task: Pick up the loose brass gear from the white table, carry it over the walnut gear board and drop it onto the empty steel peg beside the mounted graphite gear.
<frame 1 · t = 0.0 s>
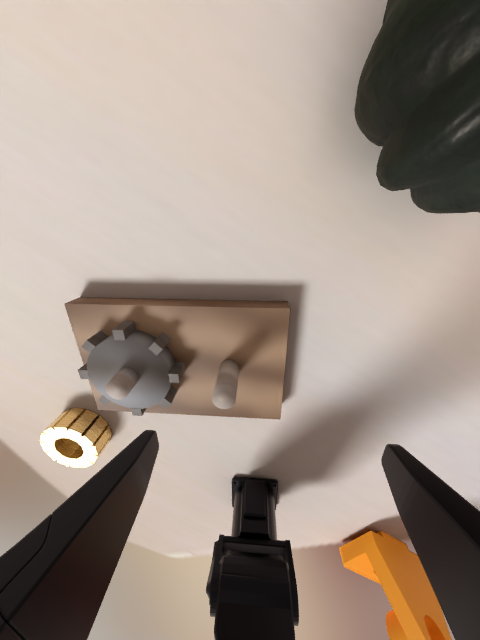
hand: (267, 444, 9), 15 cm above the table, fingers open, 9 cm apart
bracket: (375, 544, 37), on the table
brass gear: (85, 428, 31), on the table
gear board: (186, 355, 25), on the table
squash: (440, 105, 16), on the table
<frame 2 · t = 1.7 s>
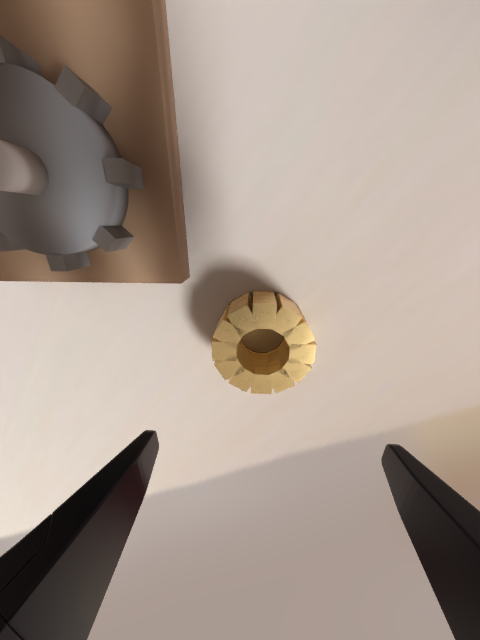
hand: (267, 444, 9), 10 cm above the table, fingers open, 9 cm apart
brass gear: (261, 333, 18), on the table
gear board: (63, 96, 13), on the table
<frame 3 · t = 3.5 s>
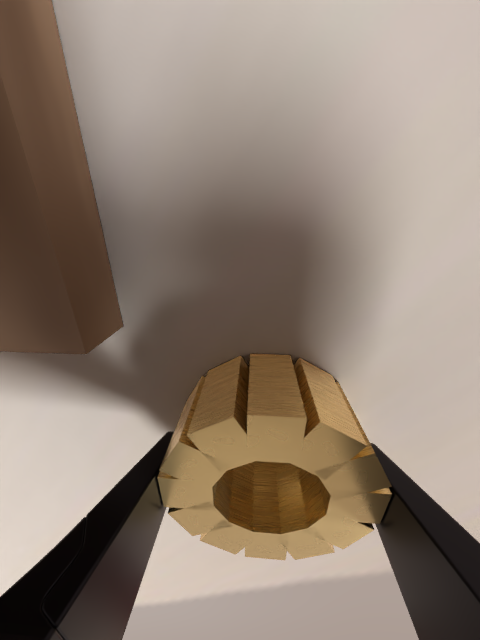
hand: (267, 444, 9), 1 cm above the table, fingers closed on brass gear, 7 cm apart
brass gear: (266, 423, 10), on the table, touching gripper
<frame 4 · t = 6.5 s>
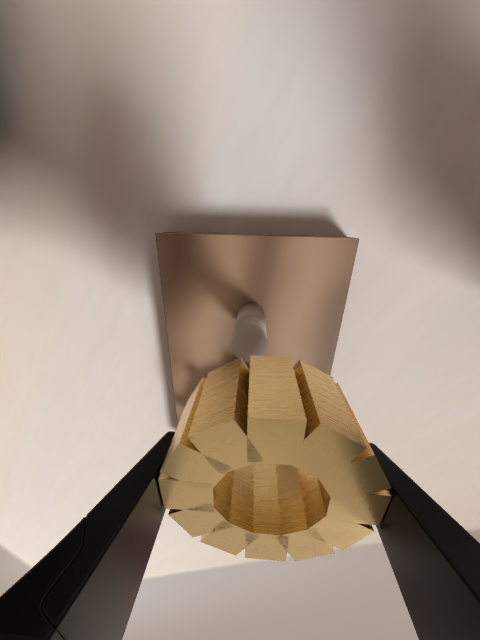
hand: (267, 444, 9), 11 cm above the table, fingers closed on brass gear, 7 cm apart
brass gear: (266, 424, 10), point 10 cm above the table, touching gripper
gear board: (249, 359, 20), on the table
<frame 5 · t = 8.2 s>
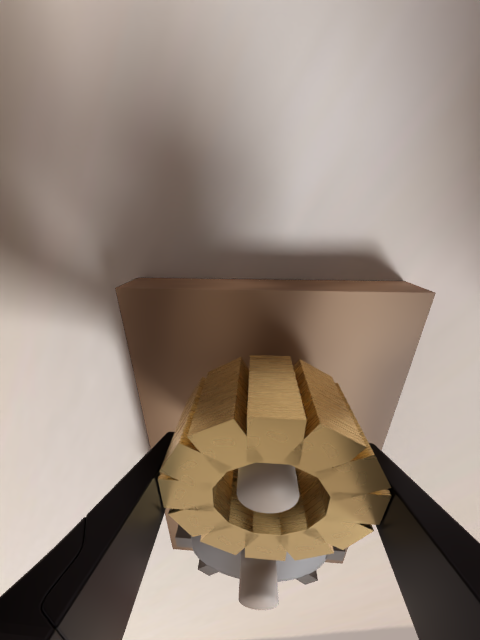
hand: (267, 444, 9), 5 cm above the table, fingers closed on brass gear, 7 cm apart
brass gear: (265, 424, 10), point 4 cm above the table, touching gripper
gear board: (259, 434, 15), on the table
when the fingers open (4 cm above the table, at t = 9.5 s): brass gear drops 1 cm, resting on gear board.
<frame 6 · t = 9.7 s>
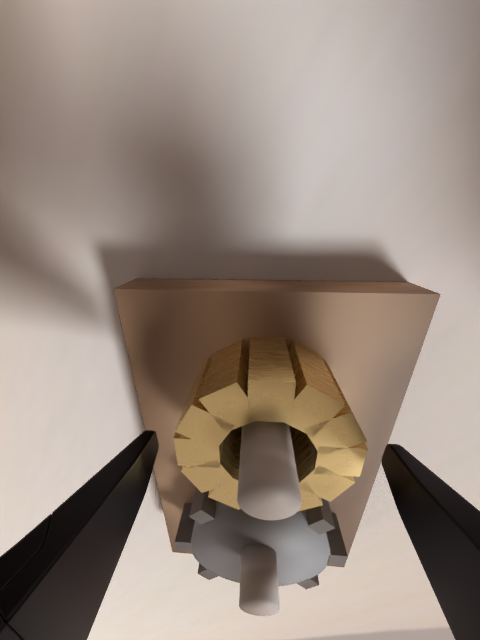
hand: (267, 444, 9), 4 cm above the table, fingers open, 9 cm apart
brass gear: (264, 400, 11), point 2 cm above the table, touching gear board
gear board: (260, 437, 15), on the table
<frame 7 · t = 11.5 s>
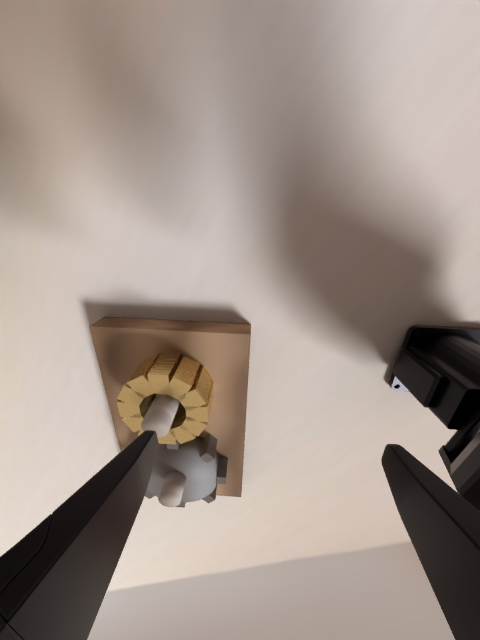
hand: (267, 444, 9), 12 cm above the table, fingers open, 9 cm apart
brass gear: (174, 386, 20), point 2 cm above the table, touching gear board
gear board: (184, 411, 24), on the table
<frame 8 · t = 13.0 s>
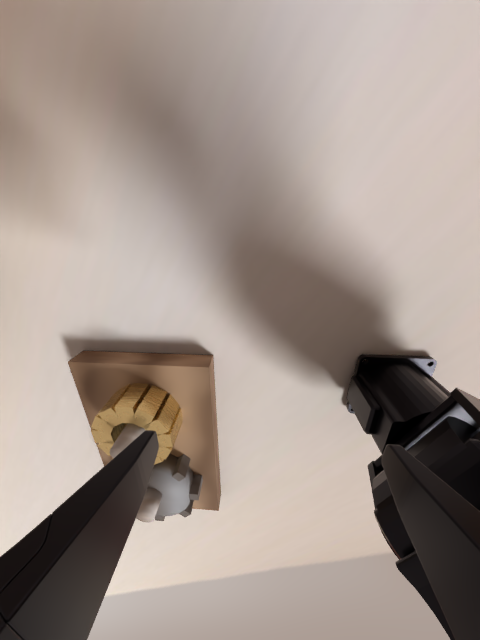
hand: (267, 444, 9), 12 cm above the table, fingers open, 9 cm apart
brass gear: (147, 412, 22), point 2 cm above the table, touching gear board
gear board: (161, 431, 26), on the table
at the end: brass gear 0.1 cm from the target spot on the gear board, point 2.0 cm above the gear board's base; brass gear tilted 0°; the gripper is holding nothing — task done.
